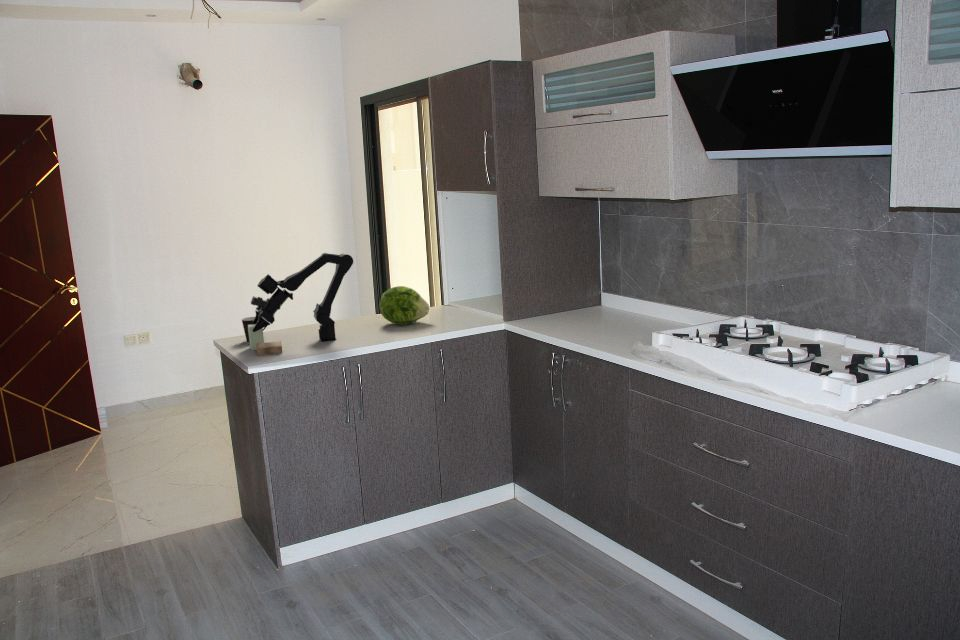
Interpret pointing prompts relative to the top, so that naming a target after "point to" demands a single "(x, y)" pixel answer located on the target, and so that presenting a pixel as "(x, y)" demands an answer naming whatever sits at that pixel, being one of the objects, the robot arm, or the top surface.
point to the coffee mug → (247, 322)
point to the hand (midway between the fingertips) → (252, 329)
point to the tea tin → (255, 337)
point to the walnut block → (269, 348)
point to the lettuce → (403, 305)
